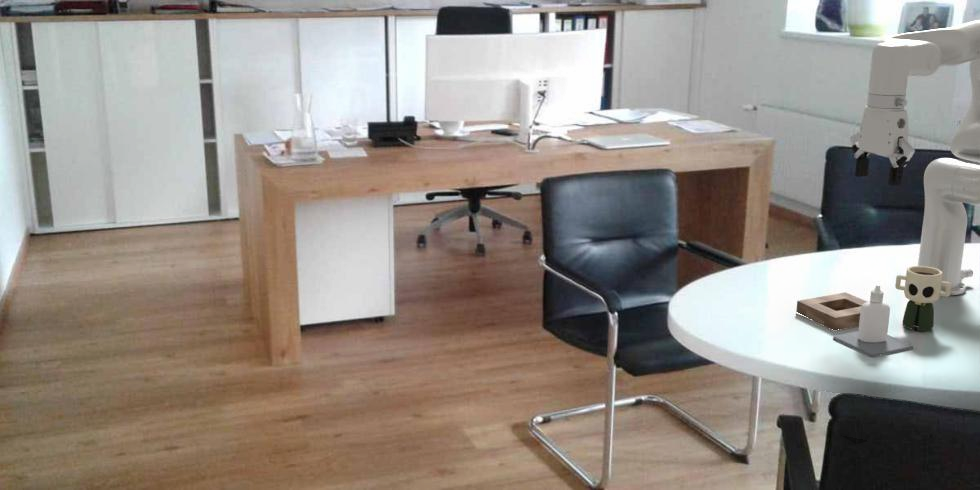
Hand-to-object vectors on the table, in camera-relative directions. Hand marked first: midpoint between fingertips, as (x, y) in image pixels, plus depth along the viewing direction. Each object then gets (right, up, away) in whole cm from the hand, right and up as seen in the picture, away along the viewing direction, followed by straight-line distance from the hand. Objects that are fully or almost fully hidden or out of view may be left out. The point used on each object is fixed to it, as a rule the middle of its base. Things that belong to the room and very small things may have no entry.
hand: (877, 180), depth 220 cm
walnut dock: (-7, -30, +4) cm, 31 cm away
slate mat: (-5, -35, -11) cm, 37 cm away
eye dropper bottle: (-5, -34, -10) cm, 36 cm away
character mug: (+8, -32, -2) cm, 33 cm away
